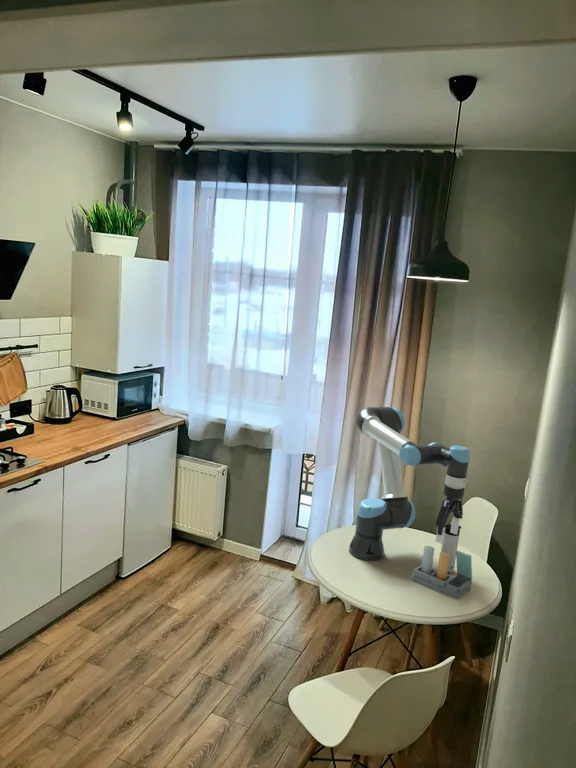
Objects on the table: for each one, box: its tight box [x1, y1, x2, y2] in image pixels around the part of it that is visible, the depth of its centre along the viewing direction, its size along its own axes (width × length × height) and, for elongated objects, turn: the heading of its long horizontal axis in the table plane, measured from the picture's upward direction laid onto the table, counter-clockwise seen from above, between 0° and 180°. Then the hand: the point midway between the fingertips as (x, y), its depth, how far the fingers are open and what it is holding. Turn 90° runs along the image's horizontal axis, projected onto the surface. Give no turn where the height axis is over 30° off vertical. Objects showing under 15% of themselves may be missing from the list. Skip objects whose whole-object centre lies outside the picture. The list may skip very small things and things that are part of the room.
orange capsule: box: [436, 551, 450, 581], centre depth 225 cm, size 4×4×12 cm
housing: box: [409, 564, 473, 601], centre depth 226 cm, size 20×12×4 cm, turn 50°
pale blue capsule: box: [421, 545, 435, 575], centre depth 230 cm, size 4×4×12 cm
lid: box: [456, 550, 473, 580], centre depth 224 cm, size 6×12×1 cm
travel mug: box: [440, 523, 462, 575], centre depth 238 cm, size 6×7×20 cm
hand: (446, 537), depth 224 cm, fingers open, 13 cm apart
